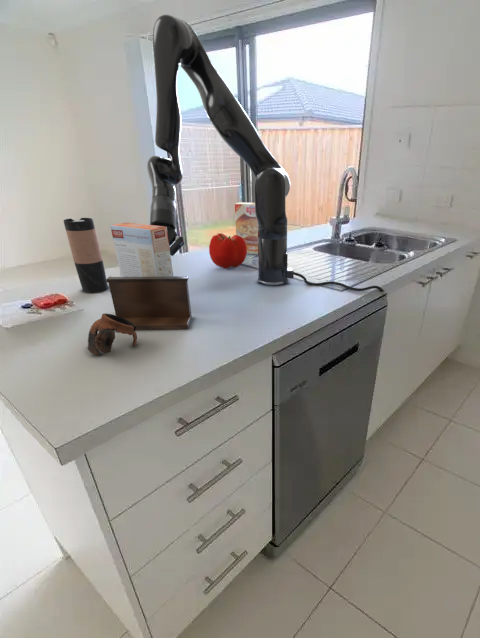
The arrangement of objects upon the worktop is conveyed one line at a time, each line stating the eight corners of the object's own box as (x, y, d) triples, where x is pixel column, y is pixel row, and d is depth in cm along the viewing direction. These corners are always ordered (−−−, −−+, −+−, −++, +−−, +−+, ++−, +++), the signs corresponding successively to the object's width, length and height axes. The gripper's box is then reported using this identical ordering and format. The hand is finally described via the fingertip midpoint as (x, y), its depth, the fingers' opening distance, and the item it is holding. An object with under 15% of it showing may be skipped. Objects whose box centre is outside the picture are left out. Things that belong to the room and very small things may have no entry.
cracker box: (179, 306, 102) (168, 225, 91) (163, 313, 97) (149, 229, 87) (142, 298, 107) (127, 221, 97) (125, 304, 103) (108, 224, 92)
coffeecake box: (236, 253, 157) (234, 203, 147) (240, 250, 163) (238, 201, 153) (270, 255, 155) (270, 204, 145) (273, 251, 161) (274, 203, 151)
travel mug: (99, 294, 110) (81, 222, 100) (76, 292, 111) (56, 220, 101) (114, 286, 116) (98, 218, 106) (92, 284, 118) (75, 217, 107)
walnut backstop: (192, 318, 95) (188, 276, 89) (189, 328, 89) (183, 284, 83) (118, 319, 93) (108, 276, 88) (109, 330, 87) (98, 285, 82)
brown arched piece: (90, 342, 83) (102, 308, 81) (132, 358, 85) (145, 325, 84) (72, 354, 71) (86, 314, 70) (122, 371, 74) (136, 333, 73)
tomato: (204, 269, 135) (201, 235, 129) (223, 260, 147) (221, 229, 141) (236, 273, 131) (234, 238, 125) (253, 264, 143) (253, 232, 137)
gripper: (137, 207, 108) (134, 260, 104) (183, 207, 109) (182, 259, 105) (144, 223, 115) (142, 273, 111) (187, 223, 116) (187, 273, 112)
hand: (161, 267), depth 108 cm, fingers closed
